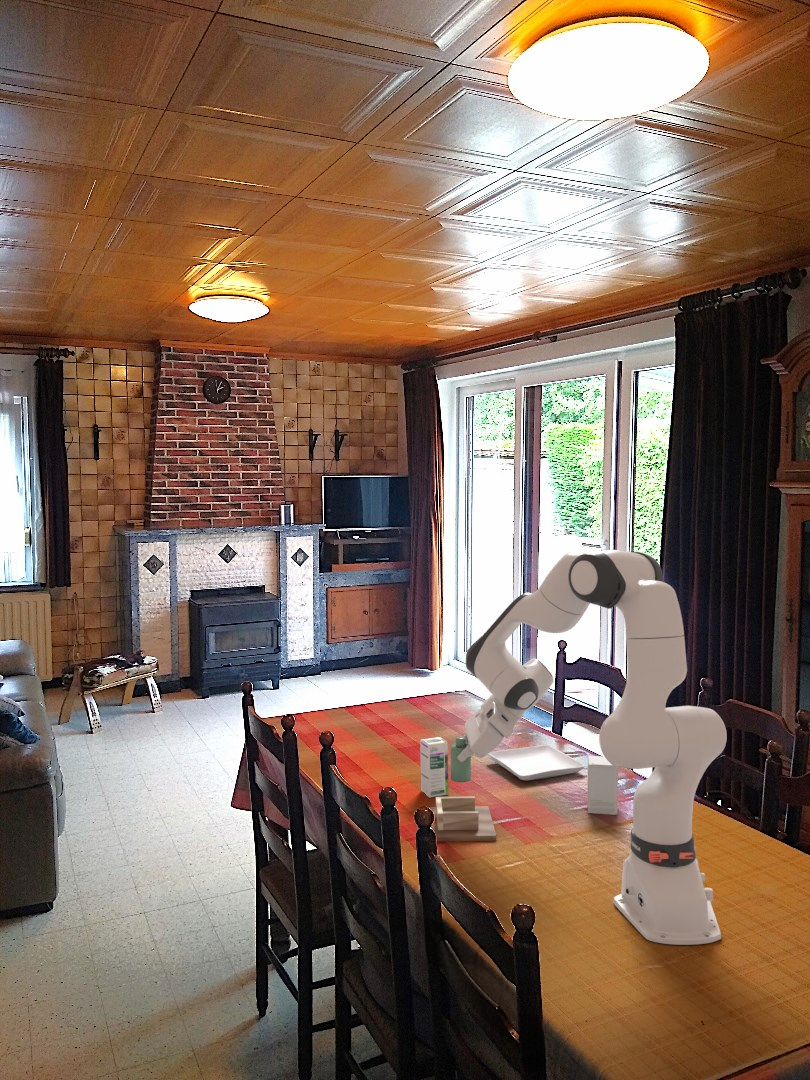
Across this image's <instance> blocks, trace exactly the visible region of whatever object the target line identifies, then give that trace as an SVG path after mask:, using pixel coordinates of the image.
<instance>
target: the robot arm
mask: <svg viewBox="0 0 810 1080" xmlns="http://www.w3.org/2000/svg"><path fill="white" fill-rule="evenodd" d="M663 580H664V579H663V570H662V567H661V565H660V563H659V562H658V561H657V560H656V559H655V558H654V557H653V556H651V555H649V554H646V553H643V552H640V551H632V552H631V551H624V550H619V549H608V550H607V549H606V550H601V551H599V550H592V551H589V552H588V551H587V552H581V551H570V552H568V553H565V554H564V555H563V556H562V557H561V558H560V559H559V560H558V561H557V562H556V563H555V565H554V566H553V567H552V568H551V570H550V571H549V573H548V574H547V575H546V577H545V578H544V579H543V581H542V583H541V584H540V586H539V587H538V588H537V590H535V591H534V592H524V593H522V594H520V595H519V596H517V597H515V599H514V600H513V601H512V602H511V603H510V604H509V605H508V606H507V607H506V608H505V609H504V610H503V611H502V613H501V614H500V615H499V616H498V617H497V618H496V620H495V621H494V622H493V623H492V624H491V625H490V627H489V628H488V629H487V630H486V631H485V632H484V634H483V635H481V636H480V637H479V638H478V639H476V641H474V643H473V644H471V645H470V647H469V648H468V649H467V651H466V654H465V667H466V669H467V670H468V672H470V673H471V674H472V675H473V676H474V677H475V678H477V679H478V680H479V681H480V682H481V684H482V685H483V686H485V688H486V689H487V690H488V691H489V693H490V694H491V695H489V697H488V698H487V699H486V700H484V702H483V703H482V704H481V705H480V708H479V709H478V710H477V711H476V712H475V713H473V715H472V716H470V717H469V718H468V719H467V720H466V722H465V723H464V730H465V734H463V736H462V737H465V738H466V744H469V745H468V746H467V748H465V749H464V750H463V751H461V752H460V753H459V754H458V755H457V758H458V760H459V761H461V762H463V761H464V760H465V759H466V758H468V757H470V756H471V757H472V756H473V755H476V756H477V757H478V758H479V759H482V758H485V757H486V756H488V753H490V752H493V750H494V749H495V748H496V747H498V746H499V745H500V744H501V743H502V742H503V740H504V738H506V739H509V738H510V737H511V736H512V734H513V733H514V729H515V726H516V725H517V723H518V722H519V721H520V720H522V718H523V716H524V714H525V713H526V712H527V711H528V710H529V709H532V708H533V707H534V706H535V705H536V704H537V703H538V702H539V701H540V700H541V699H542V698H543V696H545V694H547V691H548V690H549V689H550V688H551V686H552V685H553V683H554V676H553V675H552V673H551V671H549V669H548V668H547V667H546V665H544V664H543V662H541V661H540V660H539V659H538V658H535V657H533V658H531V659H529V660H528V661H527V662H525V663H524V664H521V663H520V662H519V661H518V660H517V659H516V657H514V656H513V654H511V652H509V650H508V648H507V646H506V641H507V640H508V639H509V638H510V637H511V636H512V635H513V634H514V632H515V631H516V630H517V629H518V628H519V627H520V625H522V624H523V625H524V624H525V625H528V626H530V627H532V628H534V629H536V630H538V631H541V632H544V633H549V634H551V633H552V634H561V633H562V634H563V633H566V632H568V631H570V630H571V629H573V628H574V627H575V626H576V625H577V624H578V623H579V621H580V620H581V619H582V617H583V616H584V614H585V613H586V610H587V609H588V607H589V606H590V604H592V605H594V606H595V605H596V606H599V607H602V608H605V609H608V610H609V609H612V608H614V607H616V608H617V609H619V611H621V613H622V615H623V619H624V623H625V627H624V628H625V642H626V656H627V657H626V660H627V661H626V662H627V664H626V666H627V675H626V683H625V687H624V691H623V693H622V696H621V698H620V701H619V702H618V705H617V706H616V707H615V709H614V710H613V711H612V713H611V714H609V716H607V717H606V719H605V720H604V721H603V723H602V725H601V726H600V730H599V735H598V740H599V741H598V742H599V747H600V750H601V751H600V752H601V753H602V756H605V758H606V759H607V760H608V761H609V762H610V763H611V764H612V765H613V766H615V767H618V768H625V769H634V770H642V769H643V770H644V769H649V768H651V769H652V768H654V769H653V771H652V773H651V774H650V775H649V777H647V778H646V779H645V780H644V781H643V782H641V783H640V784H639V785H638V786H637V787H636V789H635V791H634V794H633V800H632V802H633V804H632V806H633V807H632V808H633V809H632V814H633V815H632V820H633V821H632V822H633V824H632V829H631V831H630V836H629V841H630V850H631V851H630V853H629V854H628V856H627V857H626V858H625V859H624V861H623V862H622V873H621V874H622V876H621V891H620V892H621V893H620V894H616V895H615V896H614V897H613V905H614V906H615V907H616V908H617V909H618V911H620V912H621V914H622V915H623V916H624V917H625V918H626V919H627V920H628V921H629V922H630V923H631V924H632V926H634V928H635V929H636V930H637V931H638V932H639V933H640V934H641V935H642V937H644V938H645V940H648V941H650V942H653V943H657V944H658V943H659V944H664V945H675V946H676V945H679V946H680V945H681V946H683V945H685V946H689V945H692V946H693V945H703V944H711V943H714V942H718V941H719V940H721V939H722V933H721V929H720V927H719V923H718V920H717V917H716V914H715V912H714V908H713V905H712V902H713V901H714V890H713V888H712V887H704V886H705V885H704V882H703V881H706V874H705V873H704V872H700V871H701V870H700V867H699V860H698V858H697V856H696V855H697V854H696V843H695V837H694V834H692V833H693V831H692V829H693V811H694V802H695V801H694V800H695V796H696V791H697V789H698V786H699V784H700V781H701V779H702V777H703V776H704V773H705V772H706V770H707V768H708V767H709V766H710V765H711V764H712V762H713V761H714V760H715V759H716V758H718V756H720V755H721V754H722V753H723V752H724V749H725V747H726V744H727V729H726V725H725V723H724V721H723V719H722V718H721V716H720V715H719V714H718V712H716V711H715V710H714V709H711V708H708V707H703V706H696V705H695V706H694V705H682V706H681V705H680V706H671V707H669V706H668V707H666V706H667V705H666V703H667V702H668V701H667V700H668V699H669V696H670V694H671V693H672V691H673V690H674V689H676V687H678V686H679V685H681V684H682V683H683V681H685V679H686V677H687V672H688V665H687V664H688V663H687V653H686V640H685V631H684V622H683V617H682V610H681V608H680V607H681V606H680V603H679V601H678V596H677V593H676V591H675V589H674V588H673V586H671V585H670V584H668V583H666V582H664V581H663Z"/></svg>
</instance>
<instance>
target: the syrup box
mask: <svg viewBox="0 0 810 1080" xmlns="http://www.w3.org/2000/svg"><path fill="white" fill-rule="evenodd" d="M419 745H420V749H419V750H420V751H419V752H420V784H421V785H420V788H421V789H420V790H421V792H422V793H423V792H424V793H425V794H426V795H425V794H424V793H423V794H424V795H425V796H427V798H429V799H431V798H436V797H443V796H448V795H449V792H450V791H449V743H448V741H447V740H446V739H445V738H442V737H440V736H437V737H431V738H425V739H424V738H423V739H422V738H421V739H420V740H419Z"/></svg>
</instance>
